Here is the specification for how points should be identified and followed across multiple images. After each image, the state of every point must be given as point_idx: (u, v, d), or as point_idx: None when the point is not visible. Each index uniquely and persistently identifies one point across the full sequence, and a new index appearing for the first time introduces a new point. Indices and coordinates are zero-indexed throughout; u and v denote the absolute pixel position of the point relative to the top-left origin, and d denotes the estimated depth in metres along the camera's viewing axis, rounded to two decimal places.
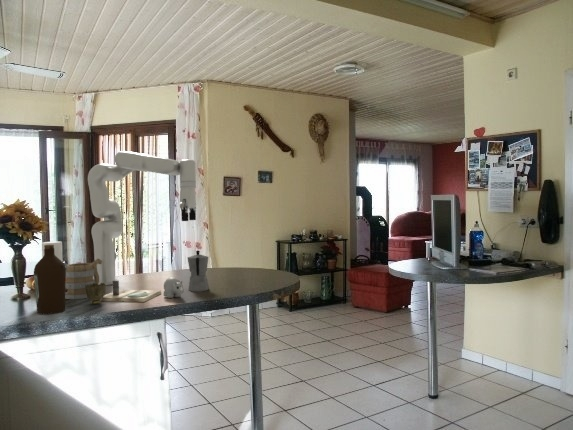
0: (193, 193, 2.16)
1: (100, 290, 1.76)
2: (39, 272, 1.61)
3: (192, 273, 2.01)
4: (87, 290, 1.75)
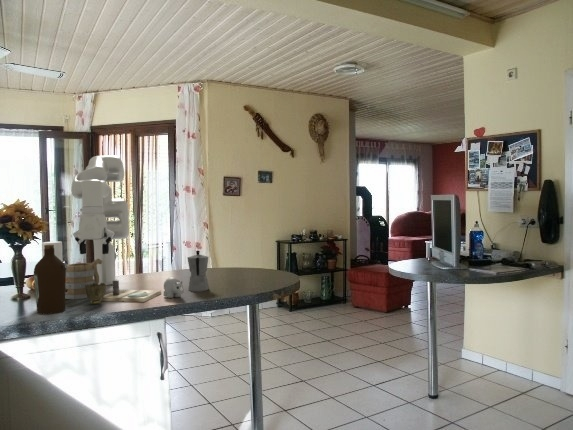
0: None
1: (100, 290, 1.76)
2: (39, 272, 1.61)
3: (192, 273, 2.01)
4: (87, 290, 1.75)
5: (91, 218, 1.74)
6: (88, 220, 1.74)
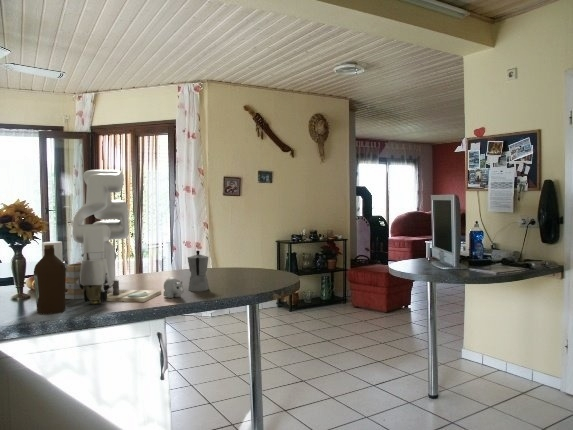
0: None
1: (100, 290, 1.76)
2: (39, 272, 1.61)
3: (192, 273, 2.01)
4: (87, 290, 1.75)
5: (92, 265, 1.75)
6: (89, 266, 1.75)
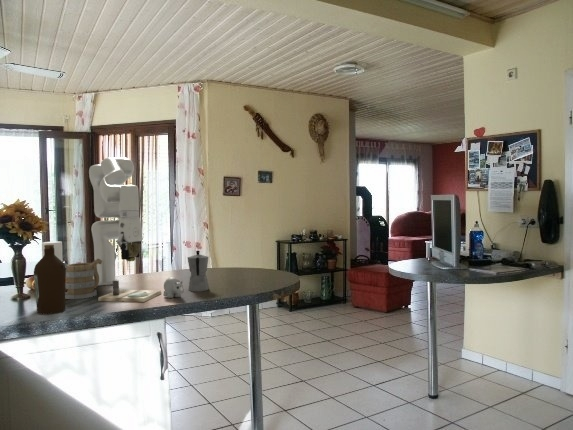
0: None
1: None
2: (39, 272, 1.61)
3: (192, 273, 2.01)
4: (135, 246, 1.82)
5: (136, 222, 1.84)
6: (134, 224, 1.83)
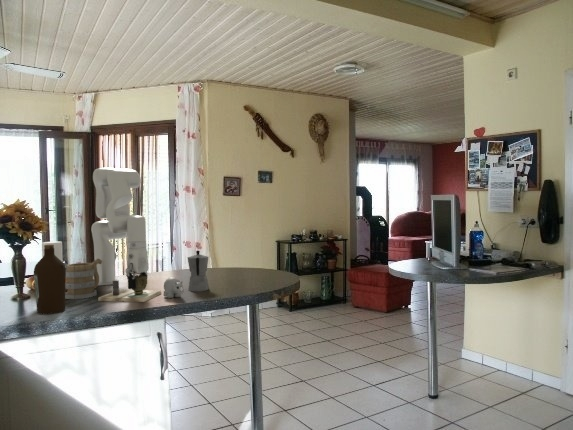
0: None
1: None
2: (39, 272, 1.61)
3: (192, 273, 2.01)
4: (144, 280, 1.85)
5: (144, 252, 1.86)
6: (142, 254, 1.84)
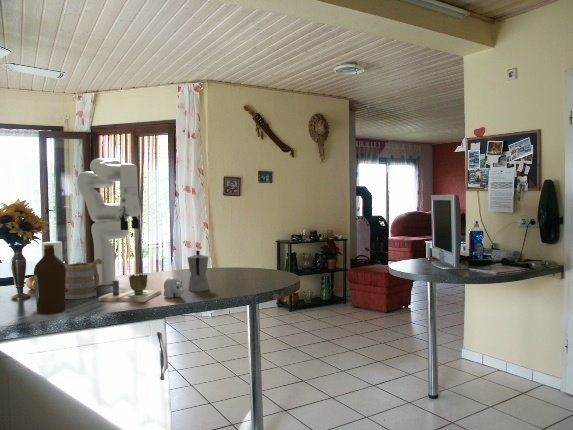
0: None
1: None
2: (39, 272, 1.61)
3: (192, 273, 2.01)
4: (144, 280, 1.85)
5: (135, 198, 2.02)
6: (134, 199, 2.00)
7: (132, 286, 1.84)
